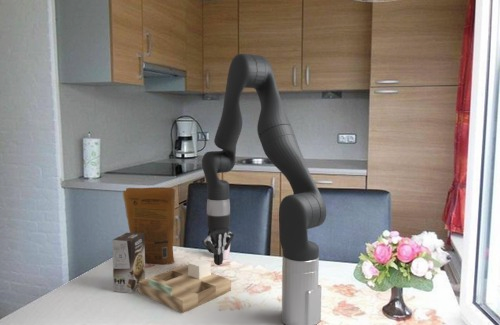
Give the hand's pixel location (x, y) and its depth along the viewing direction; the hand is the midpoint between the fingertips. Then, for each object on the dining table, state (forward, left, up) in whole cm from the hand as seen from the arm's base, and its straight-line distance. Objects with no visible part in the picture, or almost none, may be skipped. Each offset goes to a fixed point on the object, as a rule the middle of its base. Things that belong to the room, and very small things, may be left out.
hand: (218, 264), depth 133 cm
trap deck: (0, +15, -5) cm, 15 cm away
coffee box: (+16, +23, -5) cm, 28 cm away
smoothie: (+12, -15, -5) cm, 20 cm away
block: (0, +9, -1) cm, 9 cm away
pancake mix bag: (+29, +5, -5) cm, 30 cm away
